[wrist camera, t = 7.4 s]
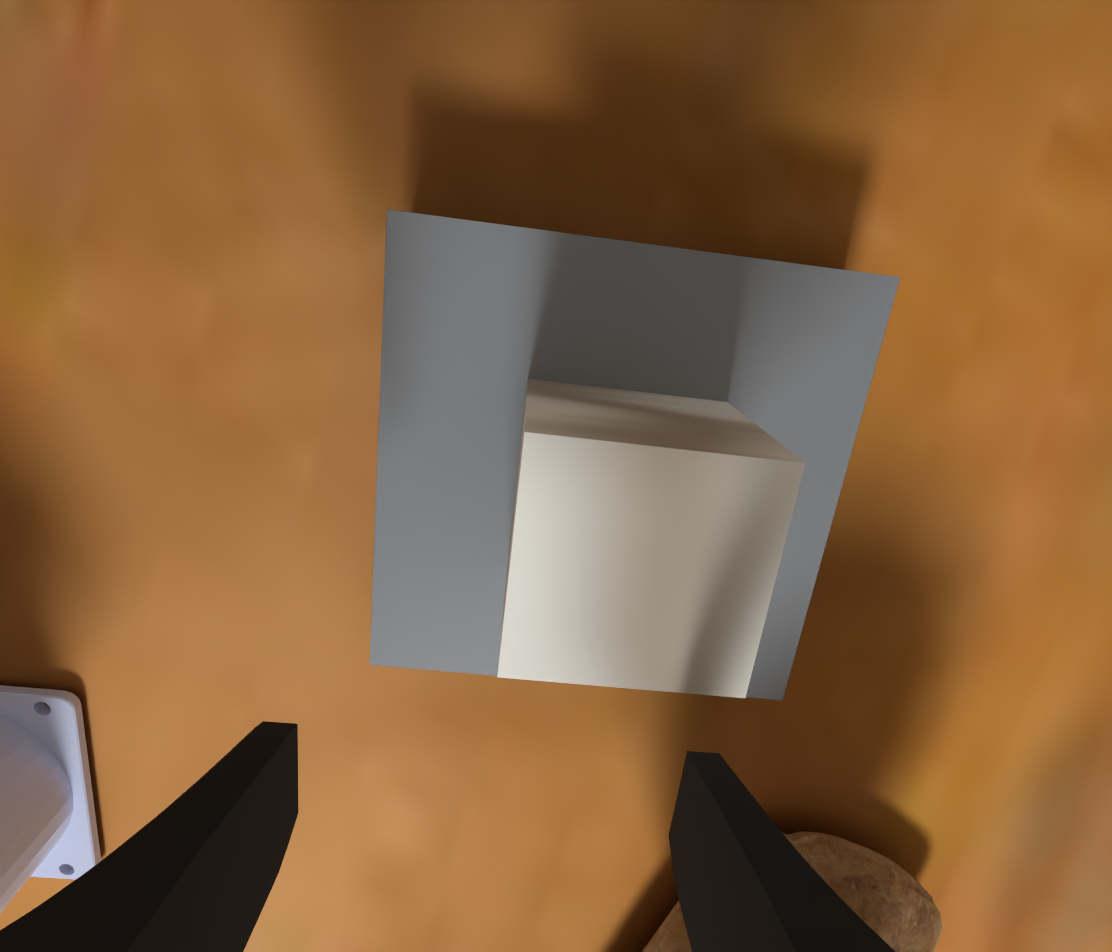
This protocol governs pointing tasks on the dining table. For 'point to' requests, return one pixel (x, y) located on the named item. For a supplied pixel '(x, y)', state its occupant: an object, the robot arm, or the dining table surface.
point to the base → (601, 361)
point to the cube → (642, 541)
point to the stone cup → (848, 895)
